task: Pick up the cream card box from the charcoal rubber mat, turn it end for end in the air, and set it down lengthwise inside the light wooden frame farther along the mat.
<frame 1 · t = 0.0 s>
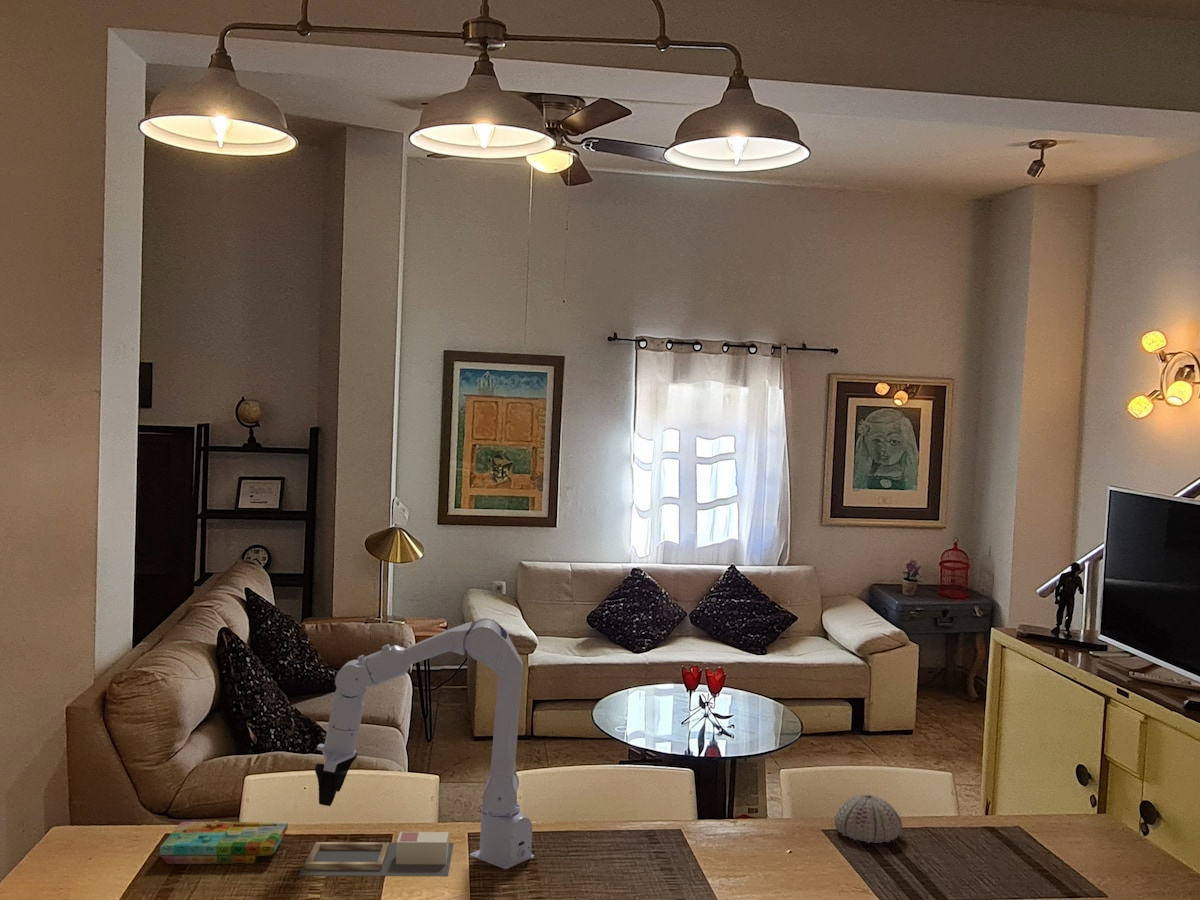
hand: (329, 797, 196), 11 cm above the table, tool pointing down, fingers open, 7 cm apart
mat: (379, 861, 193), on the table
frame: (348, 861, 193), resting on mat
sea urchin shell: (866, 836, 214), on the table
puzzle game: (225, 856, 195), on the table
card box: (422, 858, 194), resting on mat
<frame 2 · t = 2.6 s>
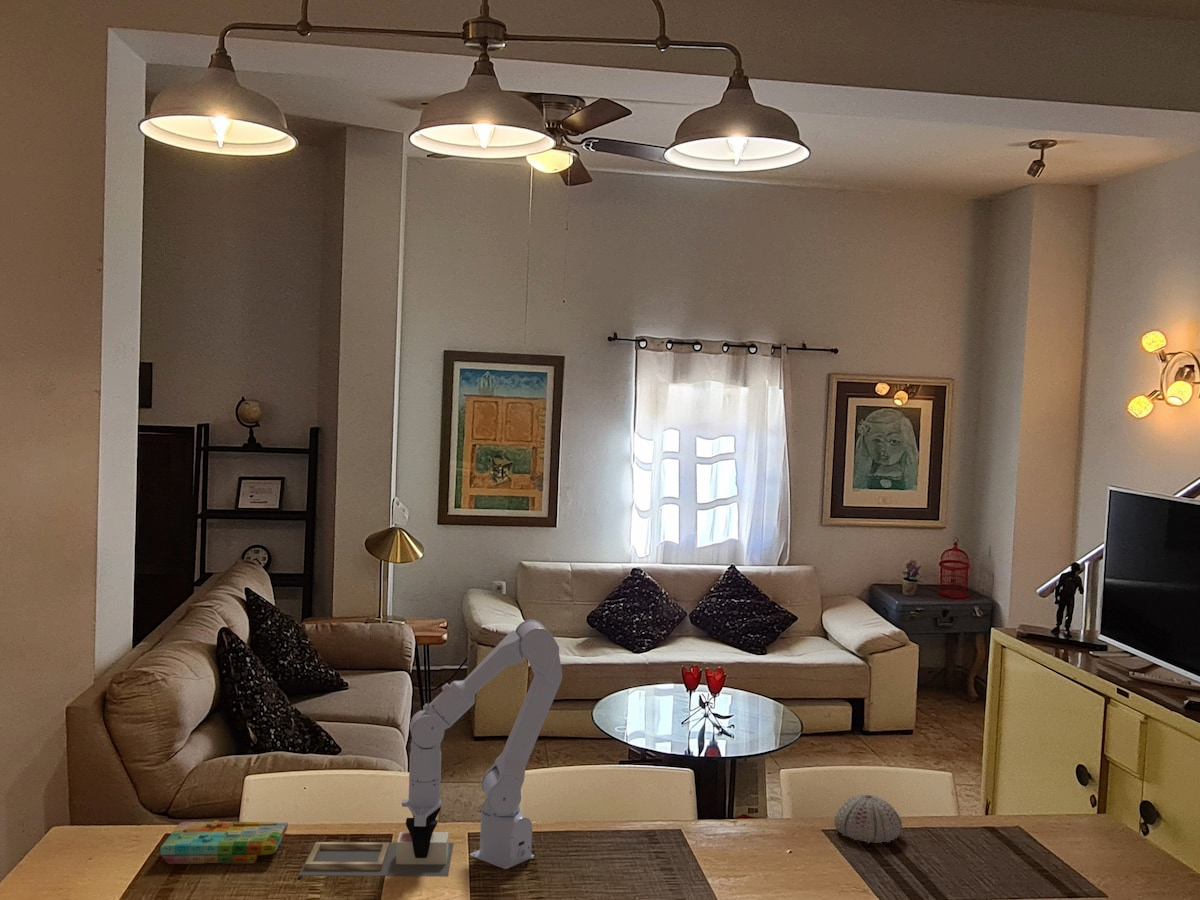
hand: (422, 851, 194), 2 cm above the table, tool pointing down, fingers closed on card box, 5 cm apart
card box: (422, 858, 194), resting on mat, touching gripper
everything else where it was.
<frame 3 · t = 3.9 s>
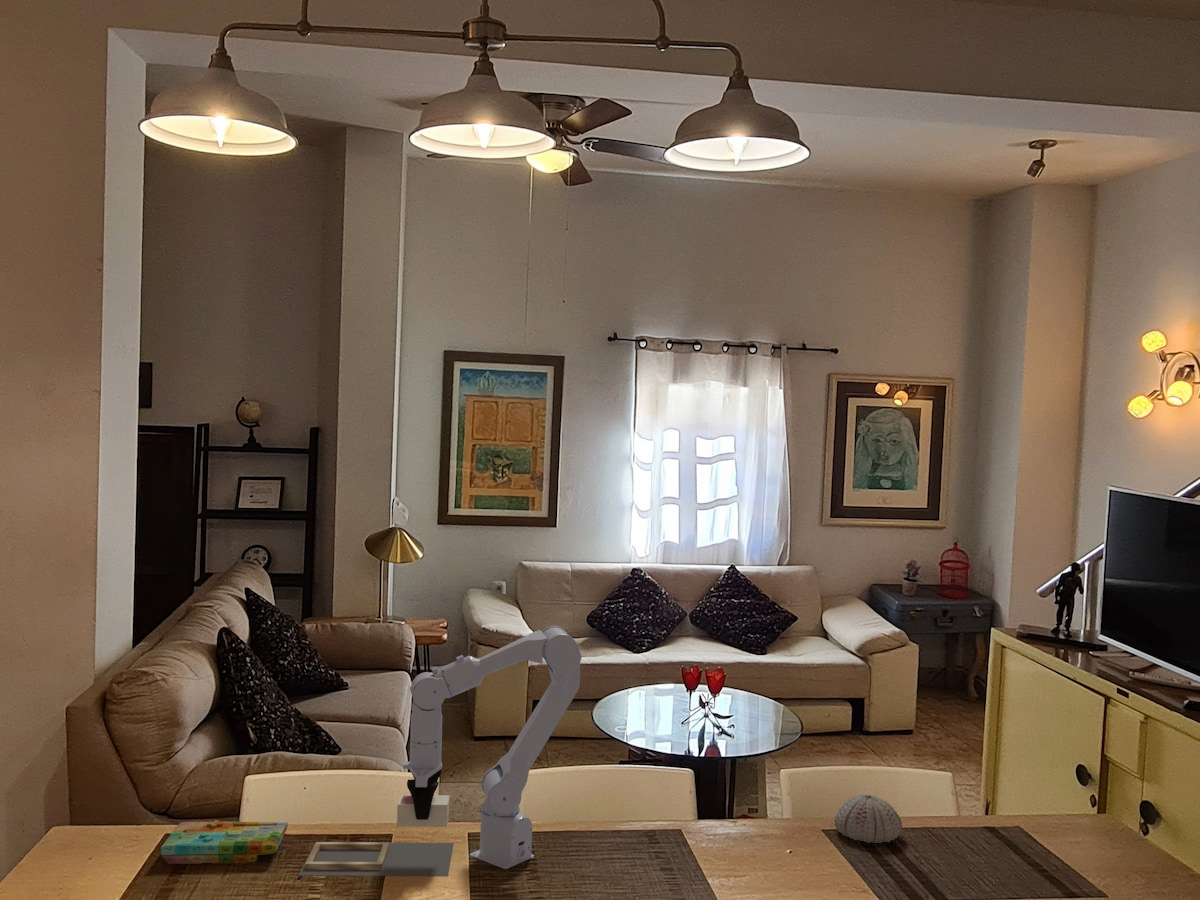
hand: (423, 813, 194), 9 cm above the table, tool pointing down, fingers closed on card box, 5 cm apart
card box: (423, 821, 194), point 7 cm above the table, touching gripper
everything else where it was.
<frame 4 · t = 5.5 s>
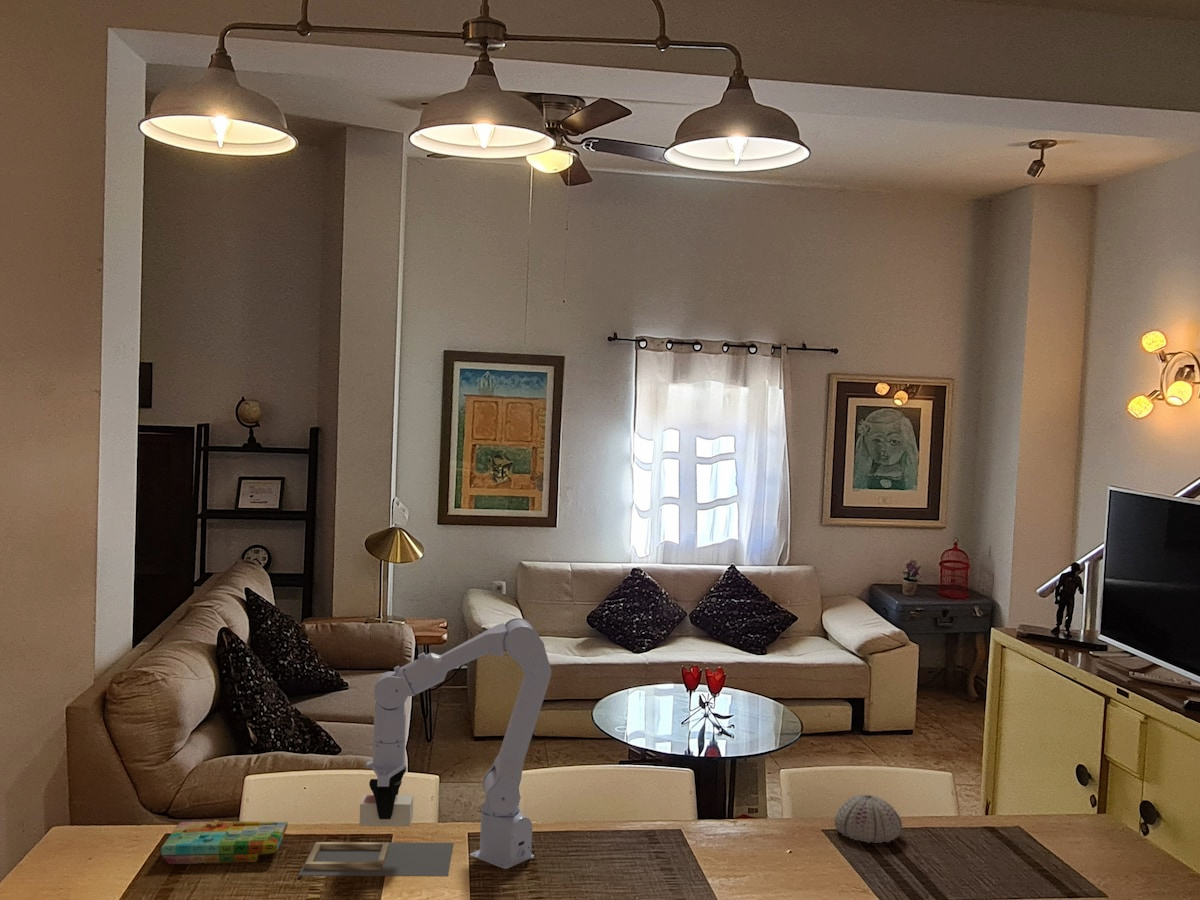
hand: (387, 812, 193), 9 cm above the table, tool pointing down, fingers closed on card box, 5 cm apart
card box: (386, 821, 193), point 7 cm above the table, touching gripper
everything else where it was.
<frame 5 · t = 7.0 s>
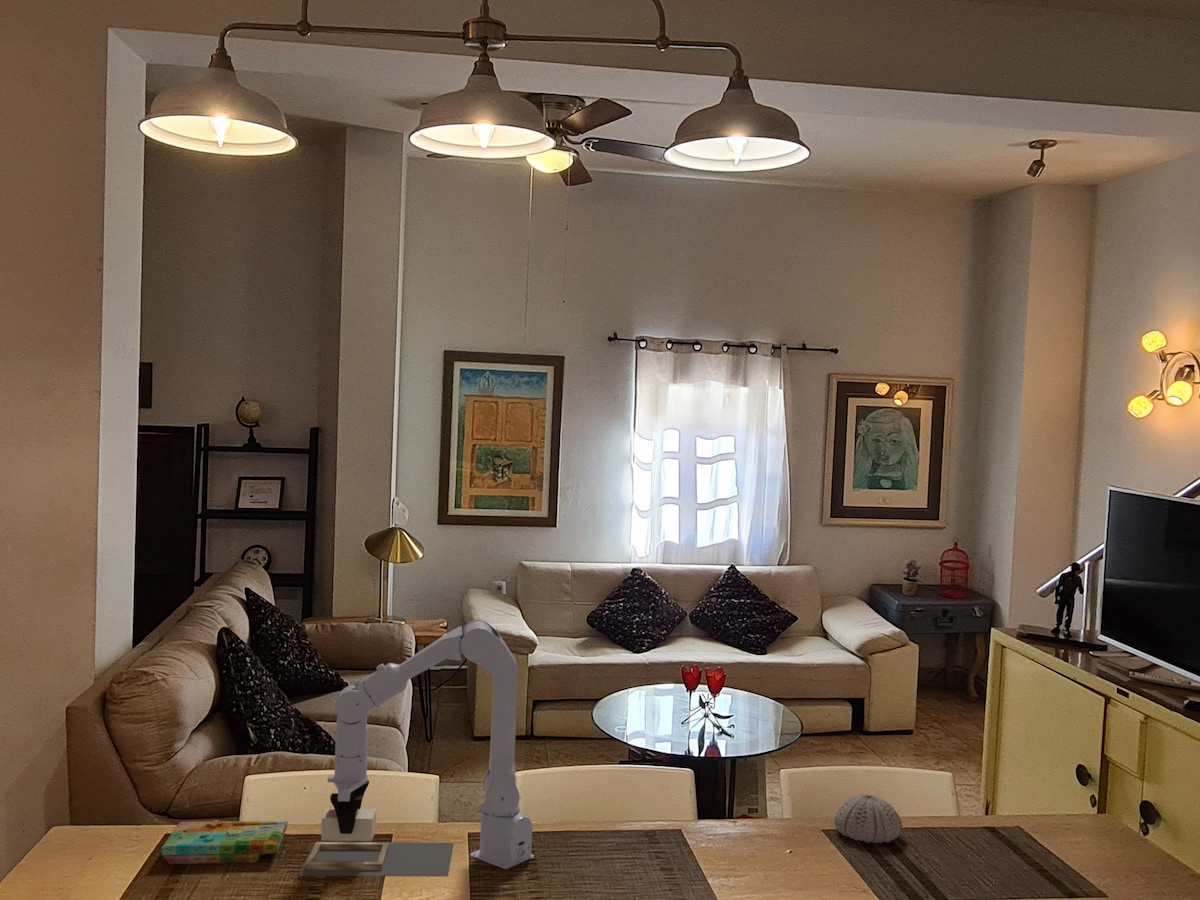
hand: (349, 827, 193), 6 cm above the table, tool pointing down, fingers closed on card box, 5 cm apart
card box: (348, 835, 193), point 5 cm above the table, touching gripper
everything else where it was.
when the fingers open (3 cm above the table, at t = 8.4 s): card box drops 1 cm, resting on mat.
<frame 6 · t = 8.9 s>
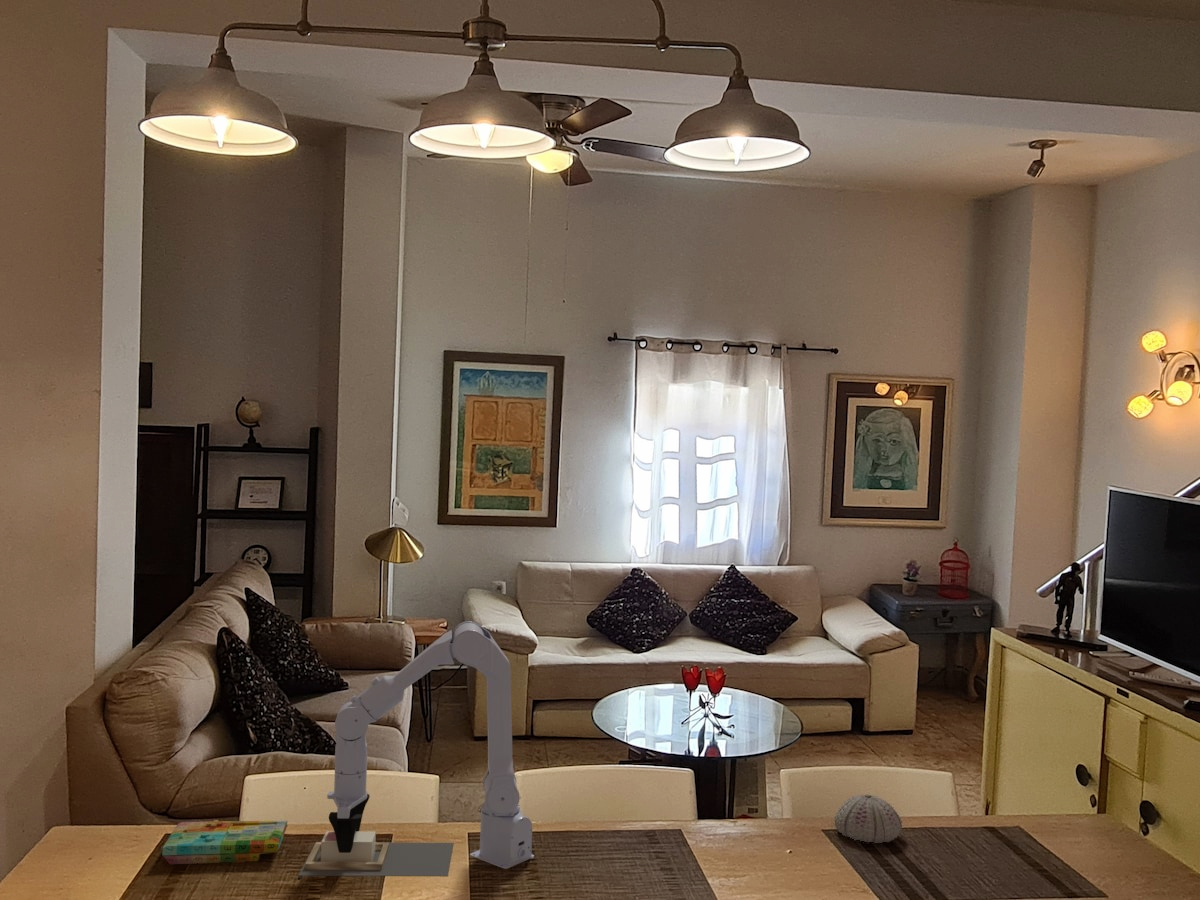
hand: (348, 843, 193), 3 cm above the table, tool pointing down, fingers open, 7 cm apart
card box: (348, 858, 193), resting on mat
everything else where it was.
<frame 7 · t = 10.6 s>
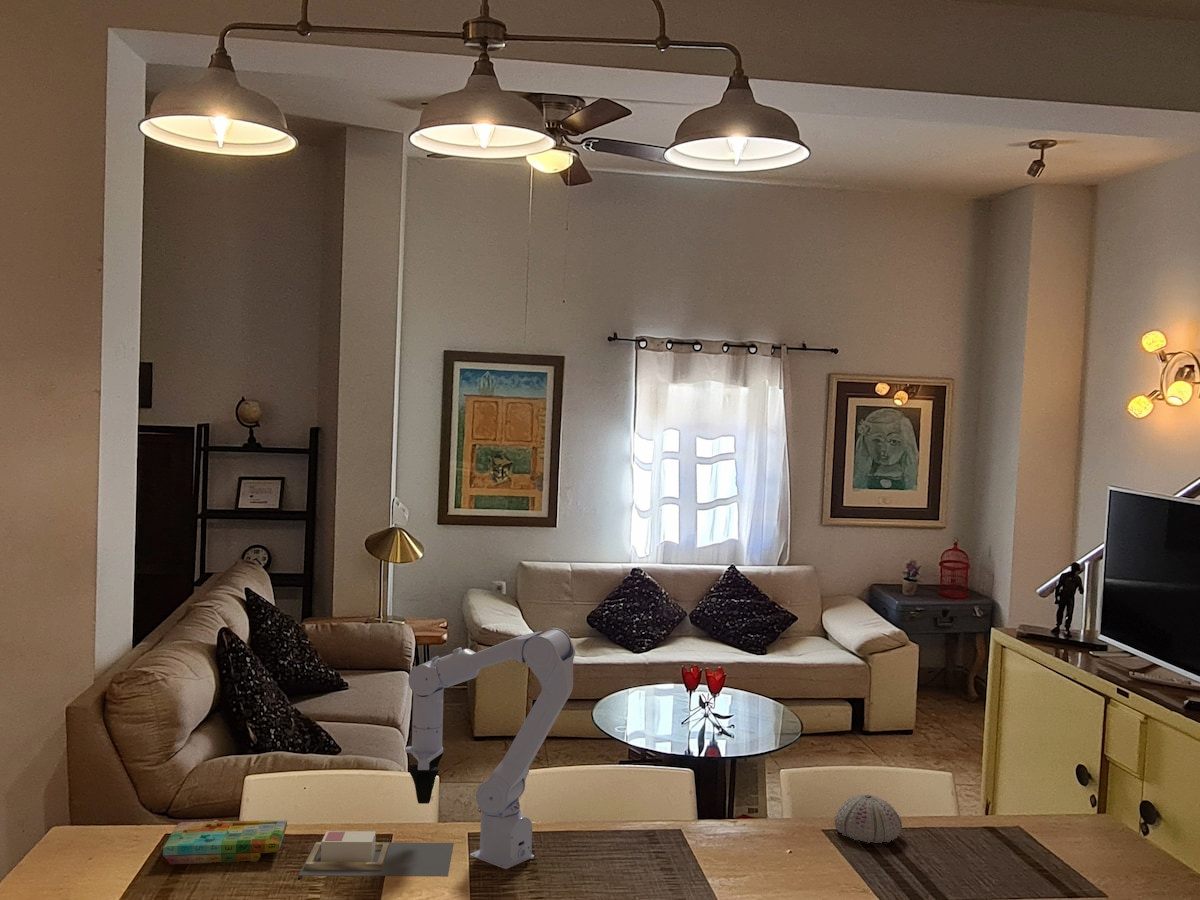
hand: (425, 795, 202), 9 cm above the table, tool pointing down, fingers open, 7 cm apart
nothing on the table moved.
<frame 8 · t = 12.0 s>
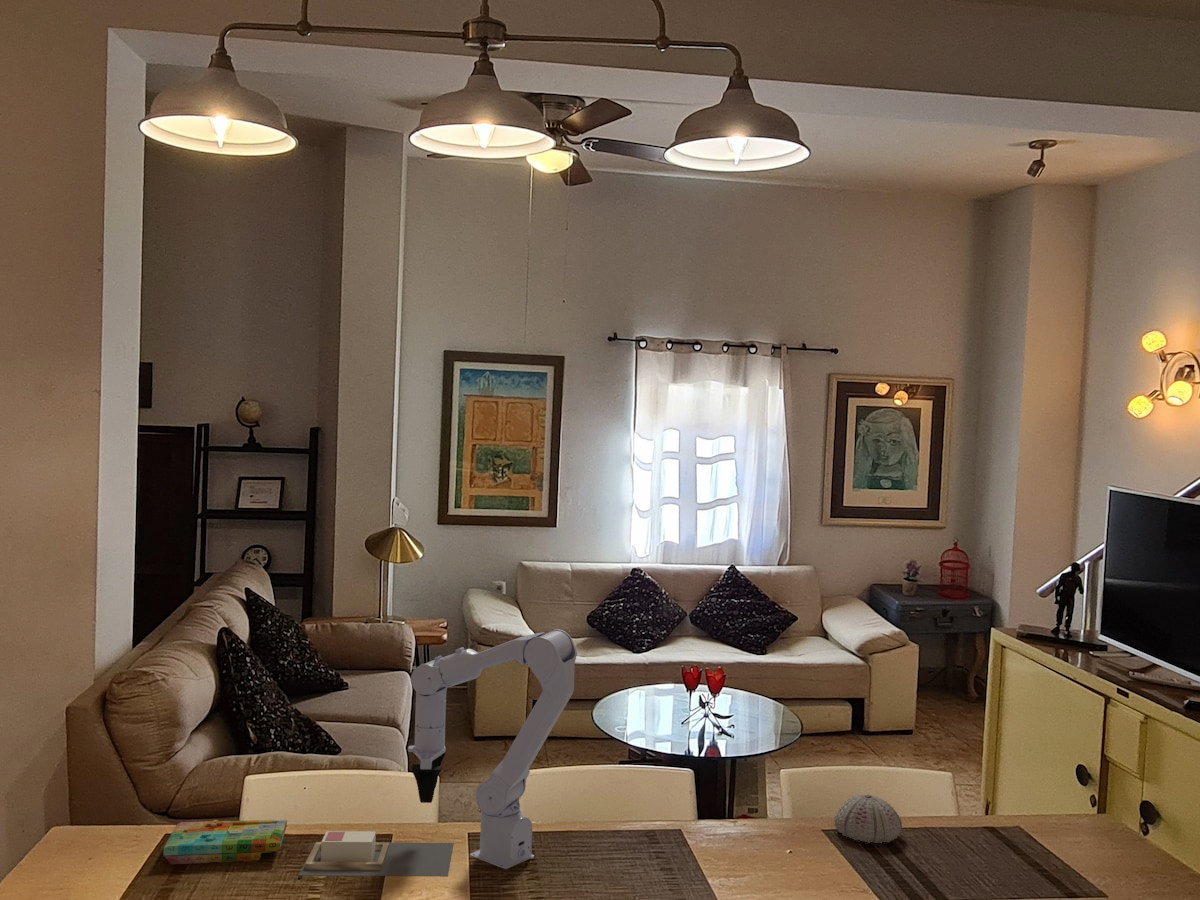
hand: (428, 795, 202), 9 cm above the table, tool pointing down, fingers open, 7 cm apart
nothing on the table moved.
at the end: card box 0.0 cm off-centre on the frame, point 0.5 cm above the frame's base; card box tilted 0°; the gripper is holding nothing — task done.
